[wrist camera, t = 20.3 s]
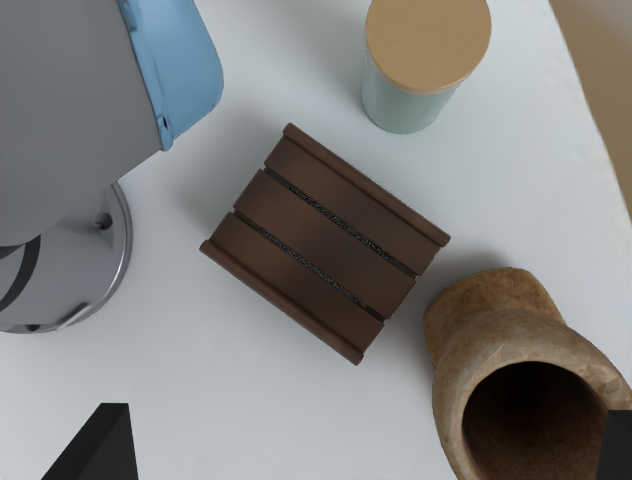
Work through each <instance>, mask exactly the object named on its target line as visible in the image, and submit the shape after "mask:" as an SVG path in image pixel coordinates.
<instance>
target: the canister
mask: <svg viewBox="0 0 632 480" xmlns="http://www.w3.org/2000/svg"><path fill="white" fill-rule="evenodd" d="M490 36H491V16H490V11H489V8H488V5H487V2H486V0H373V1H372V3H371V5H370V7H369V10H368V13H367V17H366V23H365V37H364V38H365V47H366V49H365V59H364V68H363V78H362V87H361V99H362V104H363V107H364V110H365V112H366V114H367V115H368V117H369V118H370V119H371V120H372V121H373V123H375V124H376V125H377V126H378V127H380V128H381V129H383V130H385V131H388V132H391V133H396V134H409V133H414V132H417V131H419V130H421V129H423V128H425V127H426V126H428V125H429V124H430V123H431V122H432V121H433V120H434V119H435V118H436V117H437V116H438V114H439V113H440V112H441V110H442V109H443V107H444V106H445V105H446V103H447V102H448V101H449V99H450V98H451V97H452V95H453V94H454V92H455V91H456V90H457V88H458V87H459V86H460V84H461V83H462V82H463V81H464V80H465V79H466V78H468V77H469V76H470V75H471V73H472V72H473V71H474V70H475V68H476V67H477V66H478V65H479V63H480V61H481V60H482V58H483V57H484V55H485V53H486V51H487V48H488V45H489V42H490Z"/></svg>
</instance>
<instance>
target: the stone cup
mask: <svg viewBox="0 0 632 480" xmlns="http://www.w3.org/2000/svg"><path fill="white" fill-rule="evenodd" d="M423 318H424V333H425V337H426V342H427V346H428V350H429V353H430V357H431V360H432V363H433V366H434V368H435V376H434V380H433V384H432V407H433V415H434V419H435V423H436V427H437V432H438V435H439V439H440V443H441V446H442V448H443V450H444V453H445V455H446V457H447V459H448V461H449V464H450V466H451V468H452V470H453V472H454V474H455V475H456V477H457V479H458V480H595V477H596V472H597V466H598V461H599V456H600V450H601V445H602V440H603V434H604V429H605V424H606V418H607V413H608V410H632V390H631V388H630V387H629V385H628V384H627V382H626V381H625V379H624V378H623V376H622V375H621V373H620V372H619V371H618V370H617V368H616V367H615V366H614V365H613V364H612V363H611V362H610V360H609V359H608V358H607V357H606V356H605V355H604V354H603V353H602V352H601V351H600V350H599V349H598V348H597V347H595V346H594V345H593V344H592V343H591V342H590V341H588V340H587V339H585V338H584V337H583V336H581V335H580V334H579V333H577V332H576V331H574V330H573V329H571V328H569V327H567V325H566V323H565V321H564V320H563V318H562V316H561V314H560V313H559V311H558V309H557V307H556V305H555V304H554V302H553V300H552V299H551V297H550V296H549V294H548V292H547V291H546V289H545V288H544V287H543V286H542V284H541V283H540V282H539V281H538V280H537V279H536V278H535V277H534V276H533V275H532V274H531V273H530V272H528V271H526V270H524V269H518V268H512V267H507V268H498V269H491V270H487V271H483V272H479V273H475V274H473V275H470V276H468V277H466V278H464V279H462V280H459V281H457V282H456V283H454V284H452V285H451V286H449V287H447V288H446V289H444V290H443V291H442V292H441V293H439V295H438V296H437V298H436V299H435V301H434V303H432V304H431V305H429V307H428V308H427V309H426V310H425V314H424V317H423Z"/></svg>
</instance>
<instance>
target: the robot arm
mask: <svg viewBox="0 0 632 480" xmlns="http://www.w3.org/2000/svg"><path fill="white" fill-rule="evenodd" d="M223 86H224V78H223V70H222V66H221V62H220V59H219V57H218V54H217V51H216V49H215V47H214V44H213V42H212V40H211V38H210V35H209V33H208V31H207V29H206V26H205V24H204V22H203V20H202V18H201V16H200V14H199V11H198V9H197V7H196V5H195V3H194V1H193V0H0V331H1V332H8V333H17V334H31V333H42V332H49V331H53V330H55V331H57V330H60V329H63V328H64V327H67V326H70V325H73V324H75V323H77V322H80V321H82V320H84V319H85V318H87V317H89V316H90V315H92V314H93V313H95V312H96V311H97V310H98V309H100V308H101V307H102V306H103V305H104V304H105V303H106V302H107V301H108V300H109V299H110V297H111V296H112V295H113V294H114V292H115V291H116V289H117V288H118V286H119V285H120V283H121V281H122V279H123V277H124V275H125V272H126V270H127V267H128V264H129V260H130V256H131V251H132V241H133V229H132V220H131V215H130V210H129V207H128V204H127V201H126V199H125V196H124V194H123V192H122V190H121V188H120V186H119V185H118V183H117V182H116V180H118V179H119V178H120V177H122V176H123V175H125V174H126V173H128V172H129V171H130V170H132V169H133V168H135V167H136V166H138V165H139V164H140V163H142V162H143V161H145V160H146V159H147V158H149V157H150V156H152V155H153V154H155V153H156V152H157V151H159V150H160V149H161V150H162V151H163V152H166V151H167V150H169V149H170V148H171V146H172V145H173V140H175V139H176V138H177V137H178V136H180V135H181V134H182V133H184V132H185V131H186V130H187V129H189V128H190V127H191V126H193V125H194V124H195V123H197V122H198V121H199V120H200V119H202V118H203V117H204V116H206V115H207V114H208V113H209V112H211V111H212V110H213V109H214V107H215V106H216V105H217V104H218V102H219V100H220V97H221V94H222V90H223ZM41 480H138V472H137V465H136V457H135V450H134V442H133V435H132V428H131V420H130V413H129V405H128V403H101V404H100V405H99V406H98V408H97V409H96V410H95V411H94V413H93V414H92V415H91V417H90V418H89V419H88V420H87V422H86V423H85V424H84V425H83V427H82V428H81V429H80V431H79V432H78V433H77V434H76V436H75V437H74V438H73V439H72V441H71V442H70V443H69V445H68V446H67V447H66V448H65V450H64V451H63V452H62V453H61V455H60V456H59V457H58V459H57V460H56V461H55V462H54V464H53V465H52V466H51V467H50V469H49V470H48V471H47V472H46V474H45V475H44V476H43V478H42V479H41ZM595 480H632V410H608V413H607V418H606V424H605V429H604V434H603V440H602V445H601V450H600V456H599V461H598V466H597V472H596V477H595Z"/></svg>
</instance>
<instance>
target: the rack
mask: <svg viewBox="0 0 632 480" xmlns="http://www.w3.org/2000/svg"><path fill="white" fill-rule="evenodd" d="M283 134H284V135H283V137H282V138H281V139H280V141H279V142H278V144H277V145H276V146H275V148H274V149H273V151H272V152H271V153H270V155H269V156H268V158H267V159H266V160H265V162H264V165H266V167H265V169H264V170H261V169H259V170H258V172H257V173H256V174H255V176H254V177H253V179H252V180H251V181H250V183H249V184H248V186H247V187H246V188H245V190H244V191H243V193H242V194H241V195H240V197H239V198H238V200H237V201H236V202H235V204H234V205H233V207H234V208H235V209H236V210H235V211H234V212H233V213H232V212H228V214H227V215H226V216H225V218H224V219H223V221H222V222H221V223H220V225H219V226H218V228H217V229H216V231H215V232H214V233H213V235H212V236H211V238H210V239H209V240H205V241H204V242H203V243H202V245H201V246H200V248H199V250H200V251H201V252H202V253H204V254H205V255H206V256H208V257H209V258H210V259H212V260H213V261H215V262H216V263H217V264H219V265H220V266H221V267H223V268H224V269H225V270H227V271H228V272H229V273H231V274H232V275H233V276H235V277H236V278H238V279H239V280H240V281H242V282H243V283H244V284H246V285H247V286H248V287H250V288H251V289H252V290H254V291H255V292H256V293H258V294H259V295H261V296H262V297H263V298H265V299H266V300H267V301H269V302H270V303H271V304H273V305H274V306H275V307H277V308H278V309H280V310H281V311H282V312H284V313H285V314H286V315H288V316H289V317H290V318H292V319H293V320H294V321H296V322H297V323H298V324H300V325H301V326H303V327H304V328H305V329H307V330H308V331H309V332H311V333H312V334H313V335H315V336H316V337H317V338H319V339H320V340H321V341H323V342H324V343H326V344H327V345H328V346H330V347H331V348H332V349H334V350H335V351H336V352H338V353H339V354H340V355H342V356H343V357H345V358H346V359H347V360H349V361H350V362H351V363H353V364H354V365H355V366H357V365H358V364H359V363H360V362H361V360H362V359H363V357H364V355H363V354H364V352H365V351H366V350H367V348H368V347H369V346H370V344H371V343H372V341H373V340H374V339H375V337H376V336H377V335H378V333H379V332H380V331H381V329H382V328H383V327H384V323H383V321H384V320H385V319H389V318H390V317H391V316H392V314H393V313H394V311H395V310H396V309H397V307H398V306H399V305H400V303H401V302H402V301H403V299H404V298H405V297H406V295H407V294H408V292H409V291H410V290H411V288H412V287H413V286H414V284H415V283H416V281H415V280H414V279H415V278H416V276H417V275H419V276H421V275H422V273H423V272H424V271H425V269H426V268H427V267H428V265H429V264H430V262H431V261H432V260H433V258H434V257H435V256H436V254H437V253H438V252H439V250H440V249H441V247H445V246H446V245H447V243H448V242H449V241H450V239H451V237H450V236H449V235H448V234H447V233H445V232H444V231H442V230H441V229H440V228H438V227H437V226H435V225H434V224H433V223H431V222H430V221H428V220H427V219H426V218H424V217H423V216H421V215H420V214H418V213H417V212H416V211H414V210H413V209H411V208H410V207H409V206H407V205H406V204H404V203H403V202H402V201H400V200H399V199H397V198H396V197H395V196H393V195H392V194H390V193H389V192H388V191H386V190H385V189H383V188H382V187H381V186H379V185H378V184H376V183H375V182H373V181H372V180H371V179H369V178H368V177H366V176H365V175H364V174H362V173H361V172H359V171H358V170H357V169H355V168H354V167H352V166H351V165H350V164H348V163H347V162H345V161H344V160H343V159H341V158H340V157H338V156H337V155H336V154H334V153H333V152H331V151H330V150H328V149H327V148H326V147H324V146H323V145H321V144H320V143H319V142H317V141H316V140H314V139H313V138H312V137H310V136H309V135H307V134H306V133H305V132H303V131H302V130H300V129H299V128H298V127H296V126H295V125H293V124H292V123H288V124H287V125H286V127H285V128H284V130H283ZM291 184H292V185H293V186H294V187H296V188H297V189H298V190H300V191H301V192H303V193H304V194H305V195H307V196H308V197H310V198H311V199H312V200H314V201H315V202H317V203H318V204H319V205H321V206H322V207H323V208H325V209H326V210H328V211H329V212H330V213H332V214H333V215H335V216H336V217H337V218H339V219H340V220H342V221H343V222H344V223H346V224H347V225H349V226H350V227H351V228H353V229H354V230H355V231H357V232H358V233H360V234H361V235H362V236H364V237H365V238H367V239H368V240H369V241H371V242H372V243H374V244H375V245H376V246H378V247H379V248H380V249H382V250H383V251H385V252H386V253H387V254H389V255H390V256H392V257H393V258H394V259H393V260H392V262H391V263H390V262H389V261H388V260H386V259H385V258H384V257H382V256H381V255H379V254H378V253H377V252H375V251H374V250H372V249H371V248H370V247H368V246H367V245H365V244H364V243H363V242H361V241H360V240H359V239H357V238H356V237H354V236H353V235H352V234H350V233H349V232H347V231H346V230H345V229H343V228H342V227H341V226H339V225H338V224H336V223H335V222H334V221H332V220H331V219H329V218H328V217H327V216H325V215H324V214H322V213H321V212H320V211H318V210H317V209H316V208H314V207H313V206H311V205H310V204H309V203H307V202H306V201H304V200H303V199H302V198H300V197H299V196H297V195H296V194H295V193H293V192H292V191H291V190H289V187H290V186H291ZM260 228H263V229H264V230H265V231H267V232H268V233H269V234H271V235H272V236H274V237H275V238H276V239H278V240H279V241H280V242H282V243H283V244H285V245H286V246H287V247H289V248H290V249H291V250H293V251H294V252H296V253H297V254H298V255H300V256H301V257H302V258H304V259H305V260H306V261H308V262H309V263H311V264H312V265H313V266H315V267H316V268H317V269H319V270H320V271H322V272H323V273H324V274H326V275H327V276H328V277H330V278H331V279H333V280H334V281H335V282H337V283H338V284H339V285H341V286H342V287H344V288H345V289H346V290H348V291H349V292H350V293H352V294H353V295H355V296H356V297H357V298H359V299H360V300H361V301H362V303H361V304H360V305H359V304H358V303H356V302H355V301H354V300H352V299H351V298H350V297H348V296H347V295H345V294H344V293H343V292H341V291H340V290H339V289H337V288H336V287H335V286H333V285H332V284H330V283H329V282H328V281H326V280H325V279H324V278H322V277H321V276H319V275H318V274H317V273H315V272H314V271H313V270H311V269H310V268H308V267H307V266H306V265H304V264H303V263H302V262H300V261H299V260H298V259H296V258H295V257H293V256H292V255H291V254H289V253H288V252H287V251H285V250H284V249H282V248H281V247H280V246H278V245H277V244H276V243H274V242H273V241H271V240H270V239H269V238H267V237H266V236H265V235H263V234H262V233H261V232H259V231H258V230H259V229H260Z"/></svg>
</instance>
